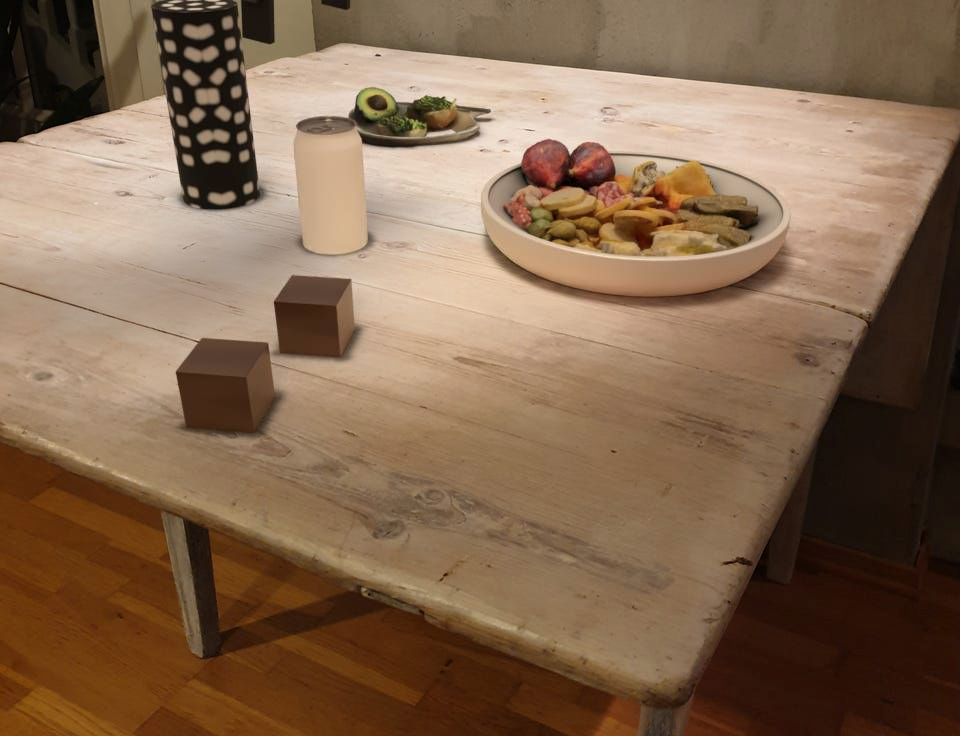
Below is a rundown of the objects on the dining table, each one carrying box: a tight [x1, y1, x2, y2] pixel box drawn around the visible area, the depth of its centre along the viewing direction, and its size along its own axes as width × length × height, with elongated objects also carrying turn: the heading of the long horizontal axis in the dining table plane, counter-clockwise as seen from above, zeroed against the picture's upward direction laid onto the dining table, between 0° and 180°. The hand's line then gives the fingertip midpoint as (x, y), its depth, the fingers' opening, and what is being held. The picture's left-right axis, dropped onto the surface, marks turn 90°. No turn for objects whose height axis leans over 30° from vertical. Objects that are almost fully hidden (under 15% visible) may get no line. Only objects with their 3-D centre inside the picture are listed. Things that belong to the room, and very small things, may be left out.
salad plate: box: [347, 86, 492, 147], centre depth 129 cm, size 19×18×5 cm
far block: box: [273, 274, 356, 359], centre depth 78 cm, size 5×5×5 cm
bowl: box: [480, 138, 792, 298], centre depth 96 cm, size 30×30×8 cm
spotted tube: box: [150, 0, 261, 211], centre depth 102 cm, size 8×8×20 cm
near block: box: [175, 337, 276, 434], centre depth 69 cm, size 5×5×5 cm
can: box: [292, 115, 369, 255], centre depth 94 cm, size 6×6×12 cm
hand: (299, 22), depth 87 cm, fingers open, 13 cm apart
